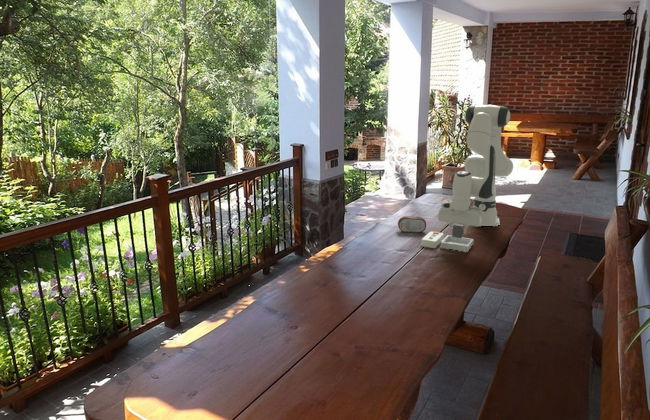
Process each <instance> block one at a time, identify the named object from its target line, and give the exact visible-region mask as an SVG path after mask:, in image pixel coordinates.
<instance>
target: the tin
mask: <svg viewBox="0 0 650 420" xmlns="http://www.w3.org/2000/svg"><path fill="white" fill-rule="evenodd" d="M397 226H398V228H399V230H400V231H401V232H403V233H413V234H414V233H417V234H420V233H423V232H424V231H426V229H427V221H426V219H425V218H423V217H420V216H408V215H407V216H406V215H405V216H401V217H400V218H399V219H398V222H397Z"/></svg>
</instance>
